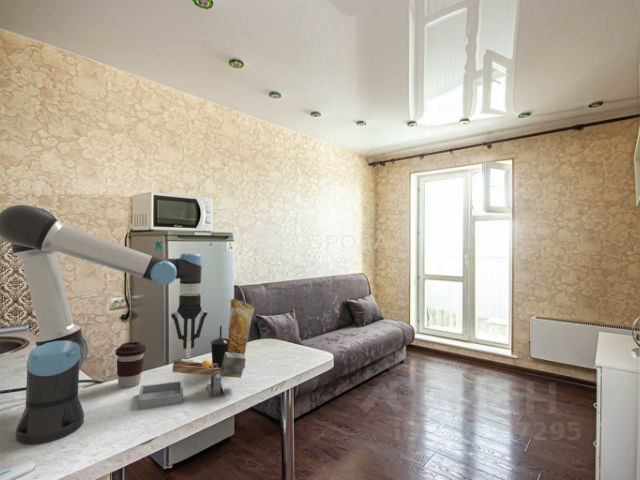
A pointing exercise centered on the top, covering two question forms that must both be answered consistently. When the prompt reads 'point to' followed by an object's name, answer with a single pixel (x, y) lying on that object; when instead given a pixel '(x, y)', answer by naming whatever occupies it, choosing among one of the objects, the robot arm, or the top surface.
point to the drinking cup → (219, 349)
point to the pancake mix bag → (239, 326)
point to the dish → (160, 394)
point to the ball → (206, 363)
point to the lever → (213, 366)
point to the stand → (215, 384)
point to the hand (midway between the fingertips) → (188, 356)
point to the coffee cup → (130, 363)
